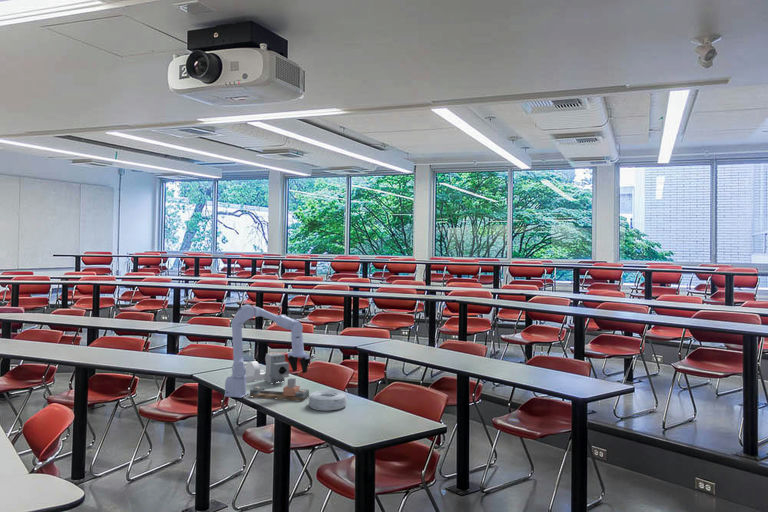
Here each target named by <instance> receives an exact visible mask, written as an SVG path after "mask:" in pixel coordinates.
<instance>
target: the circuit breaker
mask: <svg viewBox="0 0 768 512" xmlns="http://www.w3.org/2000/svg"><path fill="white" fill-rule="evenodd" d="M264 362H265V372H266V373H265V380H266V381H267V382H270V383H276V382H278V381H279V382H282V381H284V382H285V381H286V380H285V378H289V377H290V363H289V362H288V361H286V355H285V354H284V353H281V352H272V353H265V357H264ZM265 380H264V381H265ZM267 382H266V383H267ZM270 383H269V384H270Z"/></svg>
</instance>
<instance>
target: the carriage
mask: <svg viewBox="0 0 768 512" xmlns="http://www.w3.org/2000/svg"><path fill="white" fill-rule="evenodd" d="M296 383H297V379H296V378H291V377H290V378H288V379H287V385H285V386H284V387H283V389H282V390H283V391H282V392H283V395H286V396H295V393H296V392H298V391H299V390H301V389H300V385H297V384H296Z"/></svg>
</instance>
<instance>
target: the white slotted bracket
mask: <svg viewBox="0 0 768 512" xmlns="http://www.w3.org/2000/svg"><path fill="white" fill-rule="evenodd" d="M245 369H246V374H245V375H246V382H248V383H251V382H250V381H255V380H261V381H263V380H262V379H265V373H266V370H264V369H261V366H260V364H259V362H258V361H256V360H253V361H248V362H247V363H246V364H245ZM255 382H256V381H255Z"/></svg>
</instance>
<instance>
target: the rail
mask: <svg viewBox="0 0 768 512" xmlns="http://www.w3.org/2000/svg"><path fill="white" fill-rule="evenodd" d="M265 388H266V387H265V386H262V385H256V386H254V387H252V388H251V389H249V397H250V396H253V397H252V398H256V397H261V398H260V399H269V398H277V399H276V400H281V399H289V400H288V401H294V400H300V401H299V402H304V401H306V400H307V399H308V398H309V397H310V390H309V389H306V388H304V389H303V388H302V389H299V391H298V392H296V393H295V396H286V395H283V391H278V390H265ZM307 397H308V398H307ZM306 398H307V399H306ZM305 399H306V400H305Z"/></svg>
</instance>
